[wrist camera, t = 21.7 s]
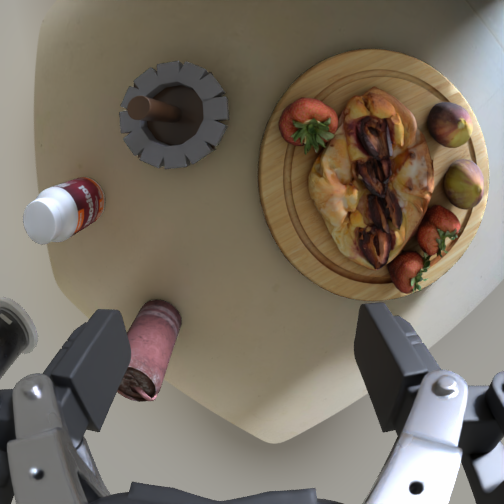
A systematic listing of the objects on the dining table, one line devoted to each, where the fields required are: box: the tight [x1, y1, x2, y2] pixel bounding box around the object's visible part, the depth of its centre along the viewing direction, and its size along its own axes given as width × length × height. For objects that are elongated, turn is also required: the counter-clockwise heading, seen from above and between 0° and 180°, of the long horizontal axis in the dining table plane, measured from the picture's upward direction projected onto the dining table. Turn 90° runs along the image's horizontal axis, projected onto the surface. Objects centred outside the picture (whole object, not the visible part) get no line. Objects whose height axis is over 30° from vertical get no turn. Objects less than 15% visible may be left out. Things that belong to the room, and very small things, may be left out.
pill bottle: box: [23, 177, 105, 244], centre depth 31 cm, size 6×6×11 cm
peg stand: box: [127, 72, 216, 158], centre depth 27 cm, size 9×9×12 cm
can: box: [117, 300, 181, 402], centre depth 36 cm, size 6×6×14 cm
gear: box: [119, 61, 229, 169], centre depth 31 cm, size 12×12×2 cm
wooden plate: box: [258, 49, 489, 301], centre depth 32 cm, size 32×32×8 cm
